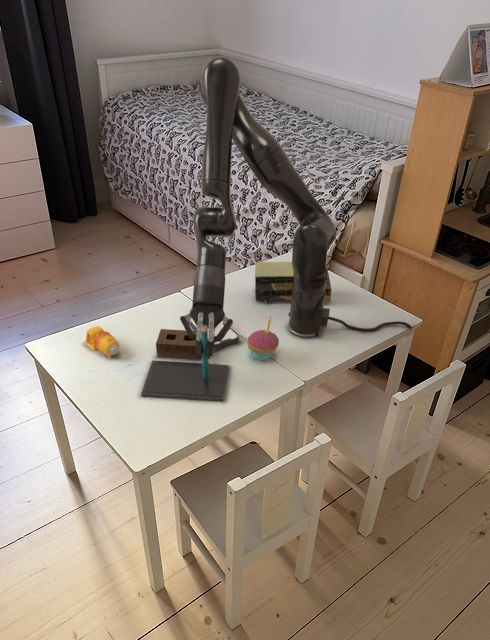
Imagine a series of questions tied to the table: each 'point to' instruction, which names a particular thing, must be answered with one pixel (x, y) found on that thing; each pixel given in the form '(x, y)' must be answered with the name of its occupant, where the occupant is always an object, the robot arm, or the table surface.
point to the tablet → (185, 381)
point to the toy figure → (101, 341)
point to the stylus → (205, 351)
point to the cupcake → (263, 343)
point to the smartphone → (227, 340)
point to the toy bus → (277, 282)
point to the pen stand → (176, 344)
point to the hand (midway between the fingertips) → (203, 357)
